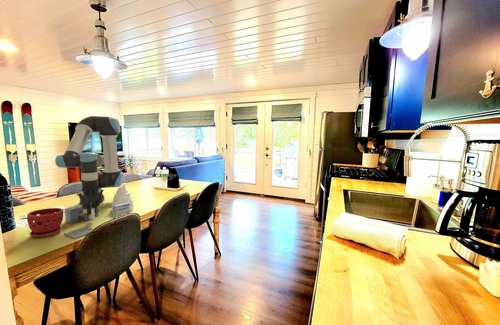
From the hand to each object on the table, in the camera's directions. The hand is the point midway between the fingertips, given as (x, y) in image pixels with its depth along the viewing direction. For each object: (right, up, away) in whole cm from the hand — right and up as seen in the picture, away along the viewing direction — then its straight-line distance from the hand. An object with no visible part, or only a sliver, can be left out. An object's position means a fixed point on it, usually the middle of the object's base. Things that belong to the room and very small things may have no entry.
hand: (92, 219), depth 123 cm
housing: (-9, -1, +5) cm, 11 cm away
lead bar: (-9, -1, +5) cm, 10 cm away
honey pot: (+4, 0, +23) cm, 23 cm away
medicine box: (+13, -2, +8) cm, 15 cm away
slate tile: (+5, -3, -14) cm, 15 cm away
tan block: (-15, -1, +8) cm, 17 cm away
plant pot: (-11, -3, -15) cm, 19 cm away
